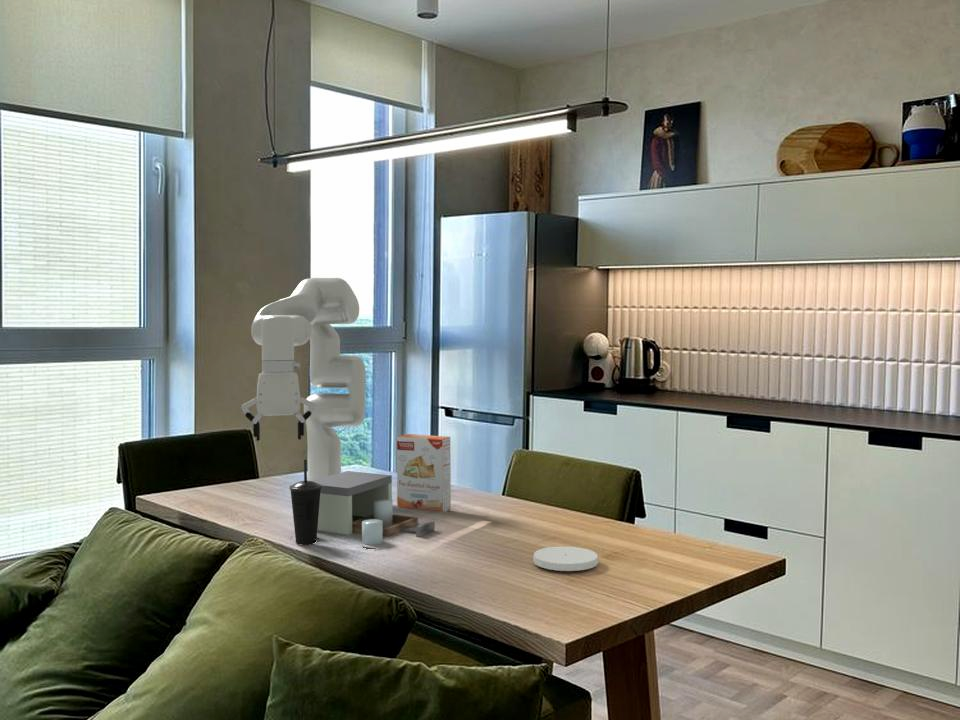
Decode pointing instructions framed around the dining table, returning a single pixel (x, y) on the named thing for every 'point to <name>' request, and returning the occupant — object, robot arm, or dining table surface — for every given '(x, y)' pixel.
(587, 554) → the plastic lid
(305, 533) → the drinking cup
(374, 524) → the pale blue cylinder
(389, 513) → the pale tall cylinder
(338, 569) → the dining table surface
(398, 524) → the tray
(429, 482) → the cracker box
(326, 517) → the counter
